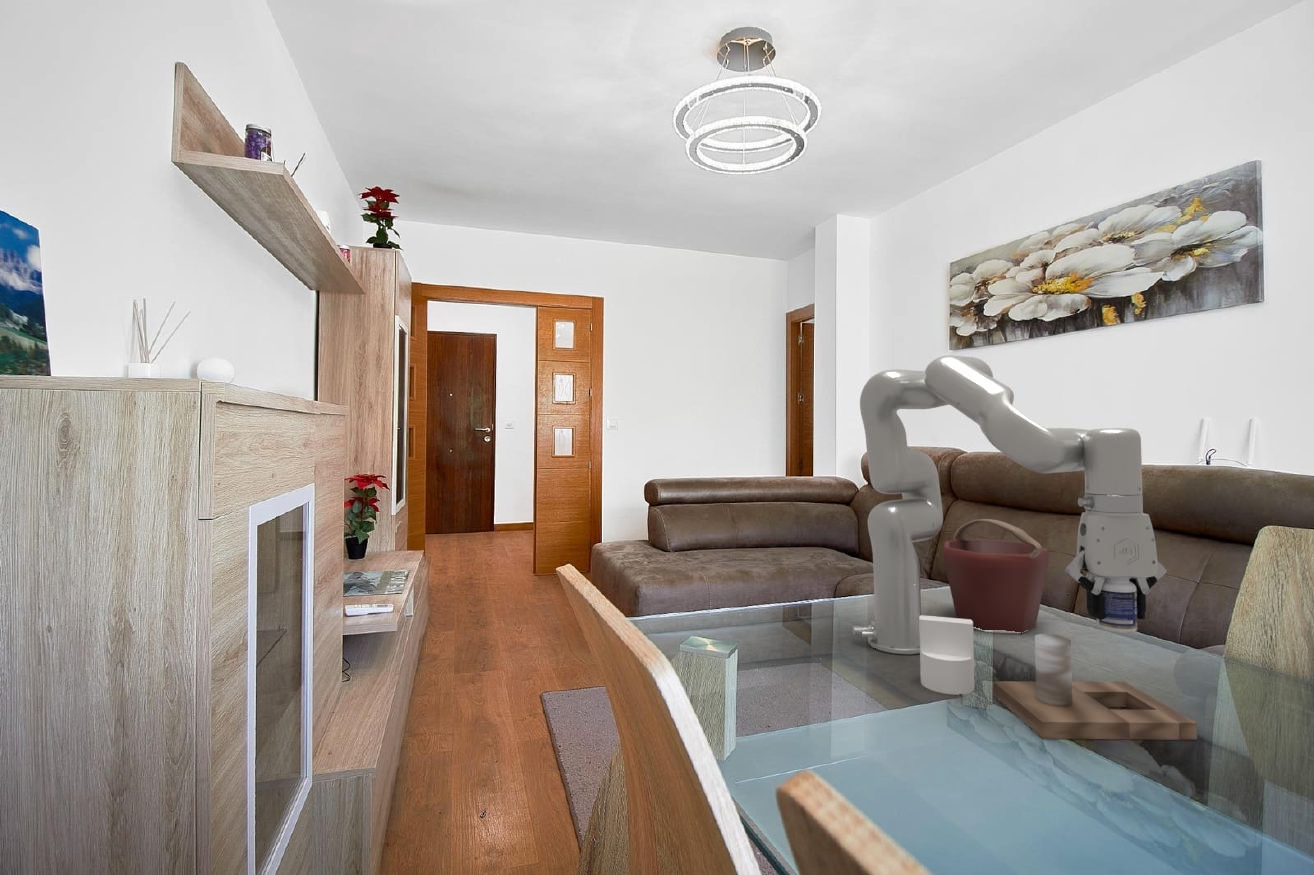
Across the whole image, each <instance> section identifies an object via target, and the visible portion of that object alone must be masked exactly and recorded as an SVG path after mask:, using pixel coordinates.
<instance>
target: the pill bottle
mask: <svg viewBox="0 0 1314 875" xmlns="http://www.w3.org/2000/svg"><path fill="white" fill-rule="evenodd" d="M1129 579H1130V578H1105V579H1104V582H1103V585H1102V589H1101V592H1100V594H1102V595H1104V601H1105V619H1103V620H1099V619H1097V618H1095V623H1096V626H1097V627H1098V628H1099V629H1102V630H1104V631H1108V632H1114V633H1121V634H1122V633H1123V634H1124V633H1125V634H1126V633H1127V634H1128V633H1135V632H1137V631H1138V618H1137V591H1136V586H1135V585H1134V584H1133V583H1132V582H1129Z"/></svg>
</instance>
